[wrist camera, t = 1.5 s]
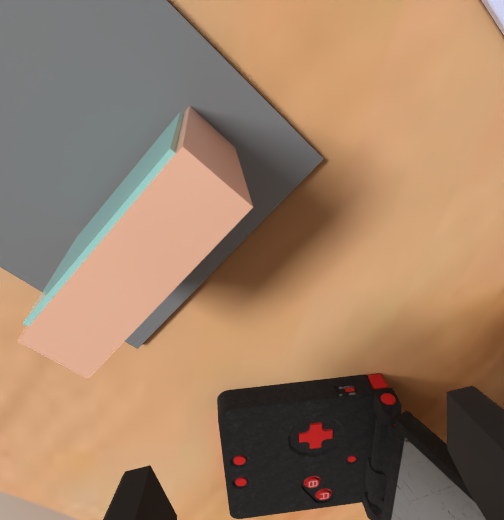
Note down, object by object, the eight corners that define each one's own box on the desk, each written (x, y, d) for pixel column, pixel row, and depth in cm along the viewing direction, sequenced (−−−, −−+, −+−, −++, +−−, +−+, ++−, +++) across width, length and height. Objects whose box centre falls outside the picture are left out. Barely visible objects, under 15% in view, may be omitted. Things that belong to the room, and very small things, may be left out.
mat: (321, 156, 17) (323, 158, 17) (138, 343, 20) (137, 348, 20) (-16, -184, 12) (-23, -191, 11) (-191, 144, 15) (-200, 147, 15)
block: (235, 147, 16) (253, 207, 10) (124, 271, 18) (88, 379, 12) (186, 102, 15) (177, 141, 10) (75, 238, 17) (11, 338, 11)
